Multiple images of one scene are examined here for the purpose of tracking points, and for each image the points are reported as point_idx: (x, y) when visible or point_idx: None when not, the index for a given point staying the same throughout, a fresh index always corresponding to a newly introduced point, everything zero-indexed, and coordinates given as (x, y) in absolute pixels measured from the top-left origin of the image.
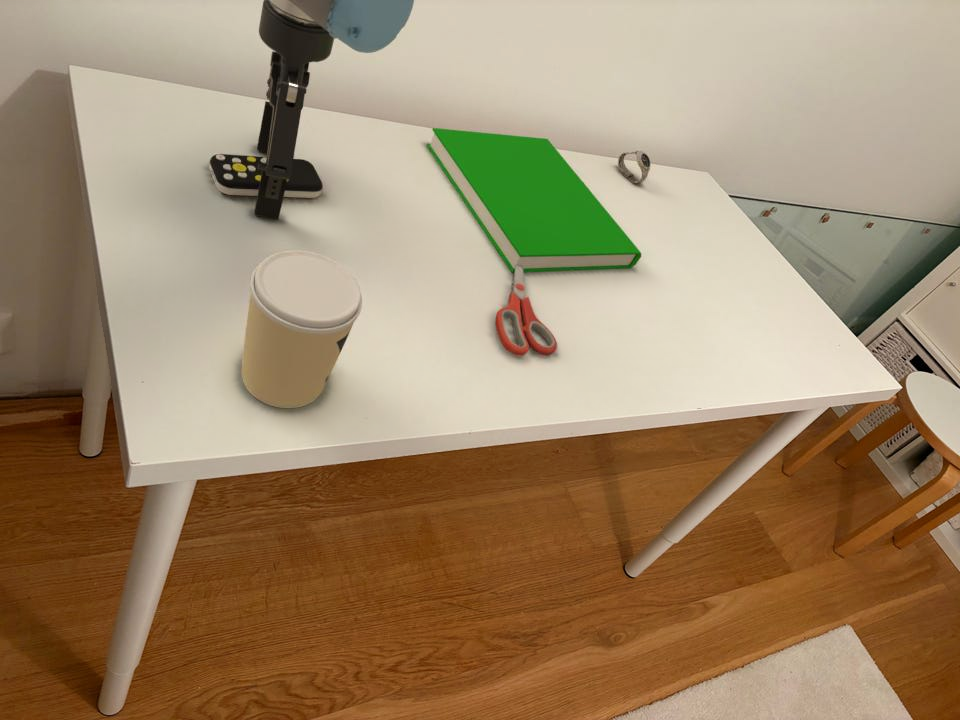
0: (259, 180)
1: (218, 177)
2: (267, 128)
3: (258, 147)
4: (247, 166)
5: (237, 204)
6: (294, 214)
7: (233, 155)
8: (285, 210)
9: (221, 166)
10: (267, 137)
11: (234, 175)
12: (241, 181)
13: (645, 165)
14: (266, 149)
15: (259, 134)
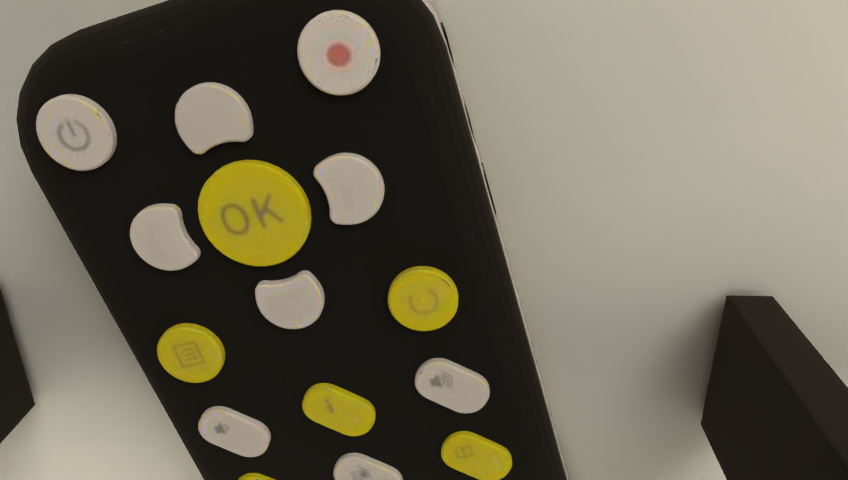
0: (160, 352)
1: (66, 48)
2: (806, 475)
3: (736, 314)
4: (313, 270)
5: (29, 176)
6: (117, 470)
7: (433, 161)
8: (128, 431)
9: (211, 67)
10: (766, 423)
11: (131, 178)
12: (85, 230)
13: None
14: (724, 363)
15: (819, 361)
